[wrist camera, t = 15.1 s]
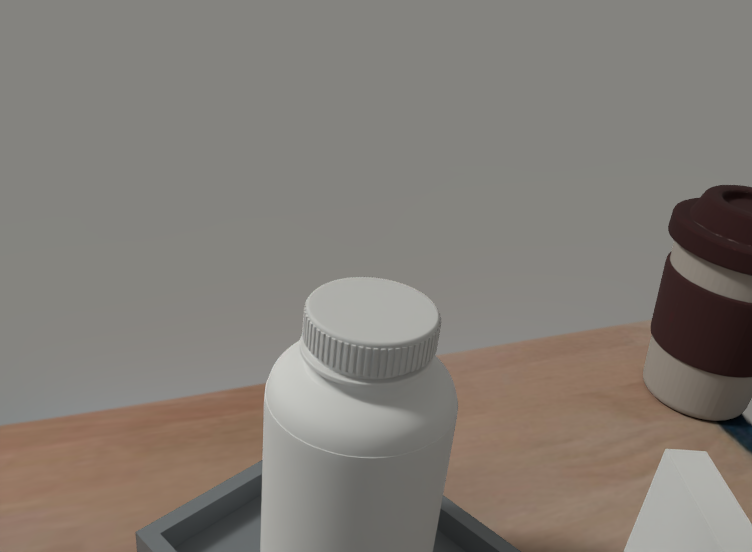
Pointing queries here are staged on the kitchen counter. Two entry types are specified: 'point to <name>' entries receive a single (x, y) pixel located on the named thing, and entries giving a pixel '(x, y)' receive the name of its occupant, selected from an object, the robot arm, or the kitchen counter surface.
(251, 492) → the tray
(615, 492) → the kitchen counter surface
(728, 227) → the coffee cup
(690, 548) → the robot arm
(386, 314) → the pill bottle
